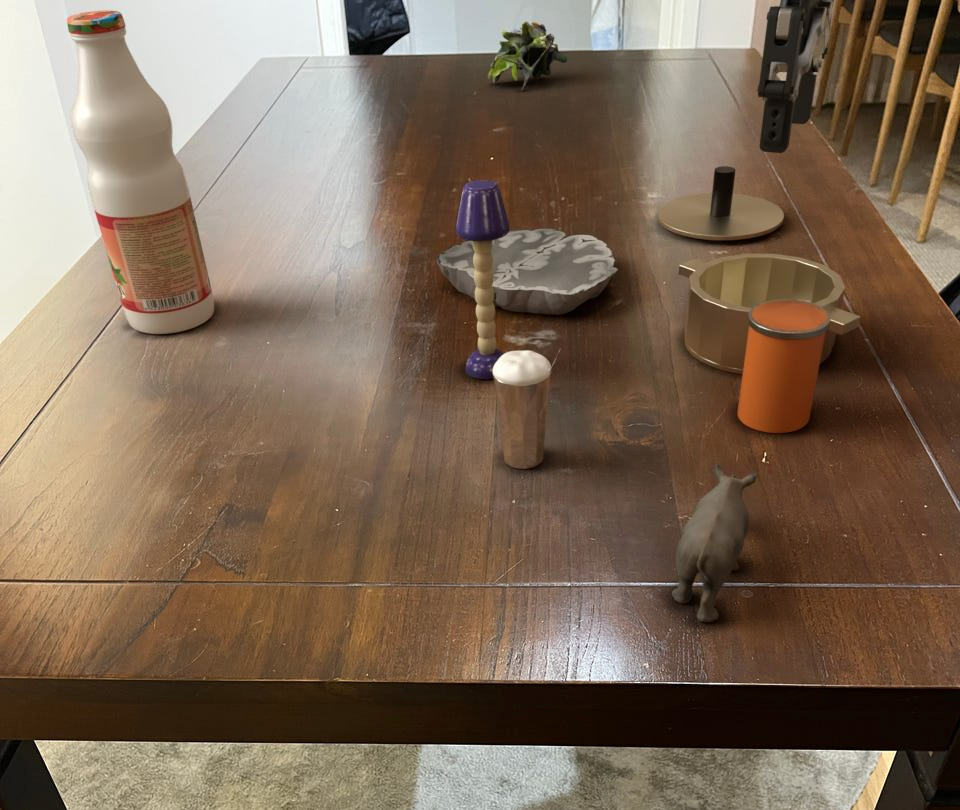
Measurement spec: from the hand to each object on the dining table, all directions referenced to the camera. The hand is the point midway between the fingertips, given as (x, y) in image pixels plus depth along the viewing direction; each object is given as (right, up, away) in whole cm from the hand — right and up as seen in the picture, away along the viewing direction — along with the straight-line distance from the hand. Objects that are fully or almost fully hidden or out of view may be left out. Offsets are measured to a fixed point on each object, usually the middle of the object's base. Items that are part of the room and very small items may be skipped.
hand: (785, 136), depth 85 cm
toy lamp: (-25, -17, +11) cm, 32 cm away
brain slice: (-20, -4, +26) cm, 33 cm away
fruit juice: (-59, -8, +24) cm, 64 cm away
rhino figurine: (-9, -37, -13) cm, 40 cm away
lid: (+3, +8, +36) cm, 37 cm away
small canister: (0, -23, +2) cm, 23 cm away
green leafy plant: (-17, +54, +90) cm, 107 cm away
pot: (+1, -14, +13) cm, 19 cm away
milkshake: (-22, -28, -1) cm, 35 cm away
